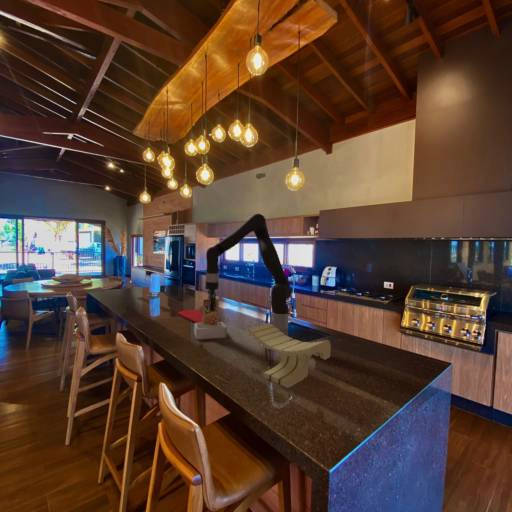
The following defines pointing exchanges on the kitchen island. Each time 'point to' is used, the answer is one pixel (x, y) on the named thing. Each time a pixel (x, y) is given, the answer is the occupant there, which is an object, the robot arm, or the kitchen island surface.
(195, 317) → the red flat case
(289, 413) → the kitchen island surface
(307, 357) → the slatted curved stool
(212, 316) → the candy box
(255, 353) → the kitchen island surface
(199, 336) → the box
